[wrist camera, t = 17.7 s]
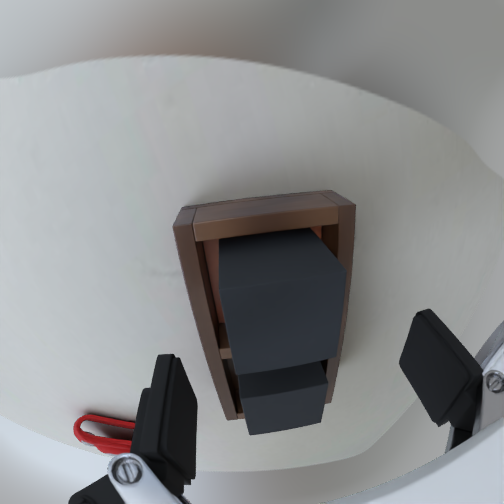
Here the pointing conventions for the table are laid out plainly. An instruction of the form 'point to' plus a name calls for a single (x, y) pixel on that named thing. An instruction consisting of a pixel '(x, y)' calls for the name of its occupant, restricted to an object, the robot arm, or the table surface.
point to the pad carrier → (247, 223)
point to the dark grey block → (280, 299)
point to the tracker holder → (103, 443)
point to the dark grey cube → (283, 397)
